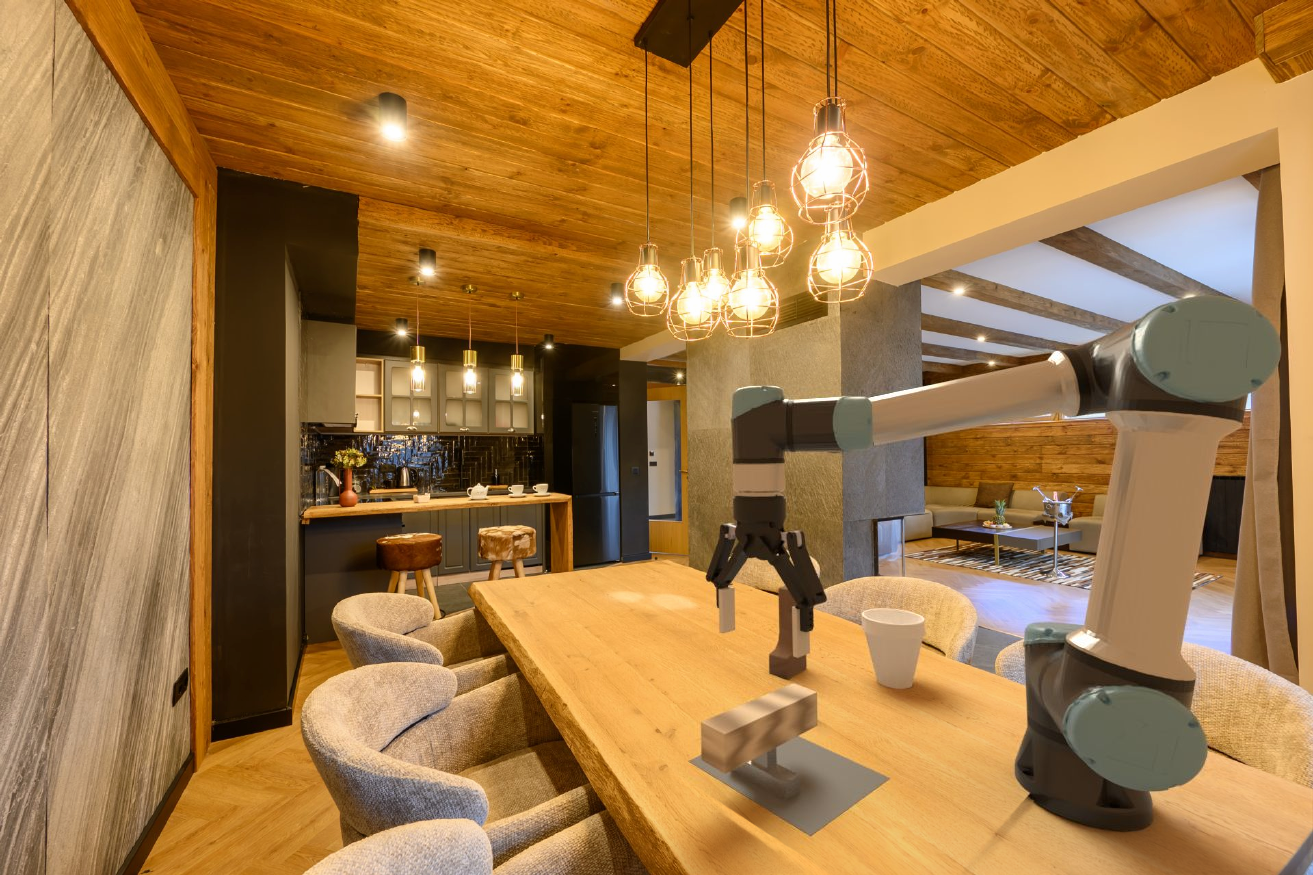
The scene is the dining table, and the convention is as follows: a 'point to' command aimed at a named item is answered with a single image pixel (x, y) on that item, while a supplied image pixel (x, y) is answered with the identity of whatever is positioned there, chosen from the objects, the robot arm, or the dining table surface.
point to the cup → (894, 644)
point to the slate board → (808, 784)
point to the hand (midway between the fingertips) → (762, 642)
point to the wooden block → (785, 641)
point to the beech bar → (757, 727)
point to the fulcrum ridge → (771, 776)
